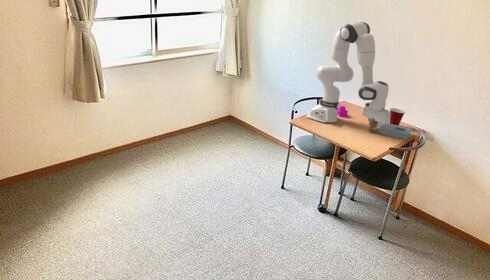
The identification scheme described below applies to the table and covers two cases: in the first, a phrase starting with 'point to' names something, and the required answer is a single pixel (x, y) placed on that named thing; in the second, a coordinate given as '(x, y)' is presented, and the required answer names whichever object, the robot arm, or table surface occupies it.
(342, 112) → the toy block
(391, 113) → the plastic cup
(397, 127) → the socket board
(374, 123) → the walnut peg
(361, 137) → the table surface
